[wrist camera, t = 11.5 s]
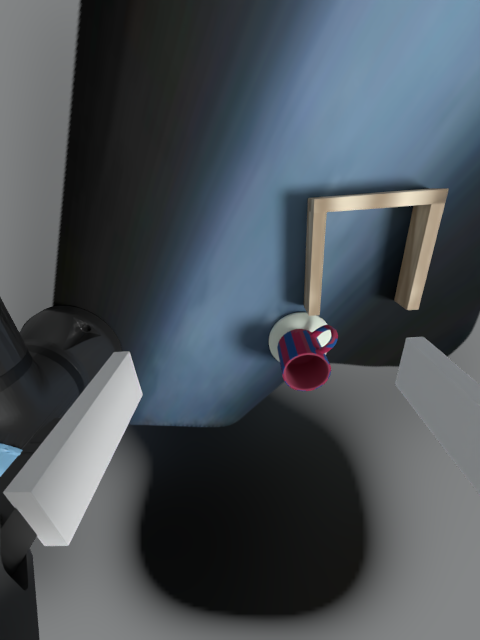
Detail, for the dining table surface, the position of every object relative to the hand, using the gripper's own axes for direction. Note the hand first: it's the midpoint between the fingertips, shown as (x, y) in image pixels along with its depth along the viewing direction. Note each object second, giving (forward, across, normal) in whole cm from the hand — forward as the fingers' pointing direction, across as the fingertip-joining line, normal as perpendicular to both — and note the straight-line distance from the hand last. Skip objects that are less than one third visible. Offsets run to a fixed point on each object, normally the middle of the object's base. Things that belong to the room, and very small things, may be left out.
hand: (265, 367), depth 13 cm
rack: (+27, +15, -1) cm, 31 cm away
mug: (+26, +8, -15) cm, 31 cm away
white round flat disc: (+27, +7, -15) cm, 31 cm away
